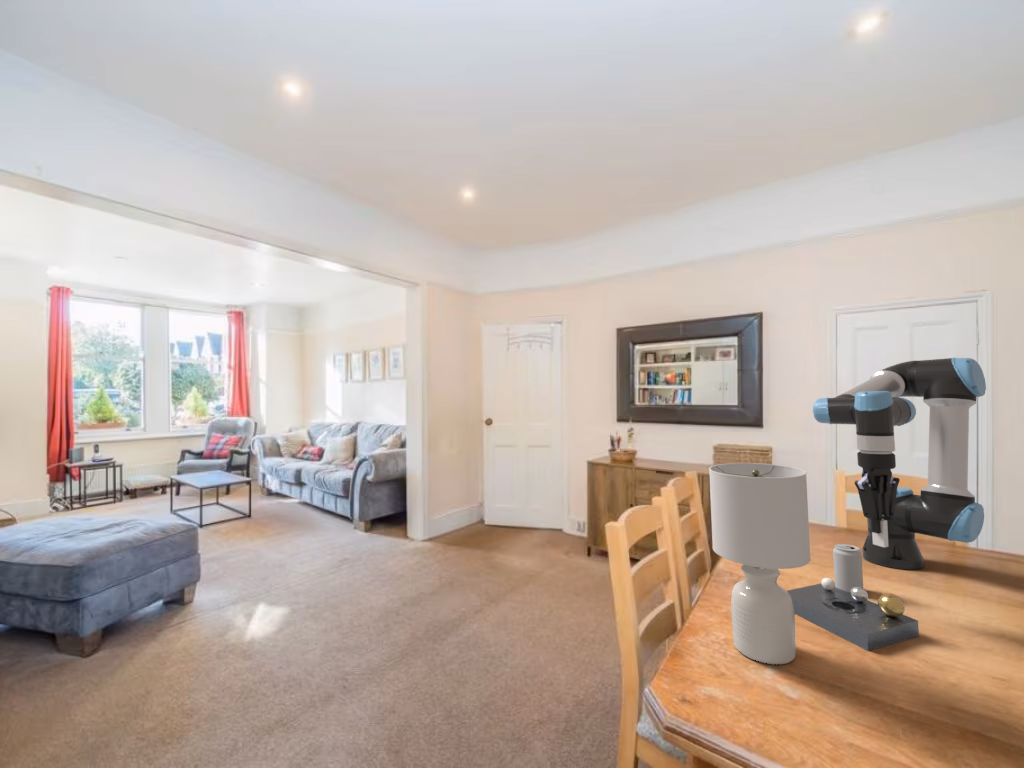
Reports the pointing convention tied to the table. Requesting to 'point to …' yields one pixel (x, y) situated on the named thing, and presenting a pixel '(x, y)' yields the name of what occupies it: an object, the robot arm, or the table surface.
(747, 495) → the lamp
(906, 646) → the table surface
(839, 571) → the beverage can
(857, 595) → the steel ball
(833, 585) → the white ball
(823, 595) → the plate
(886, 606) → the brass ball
